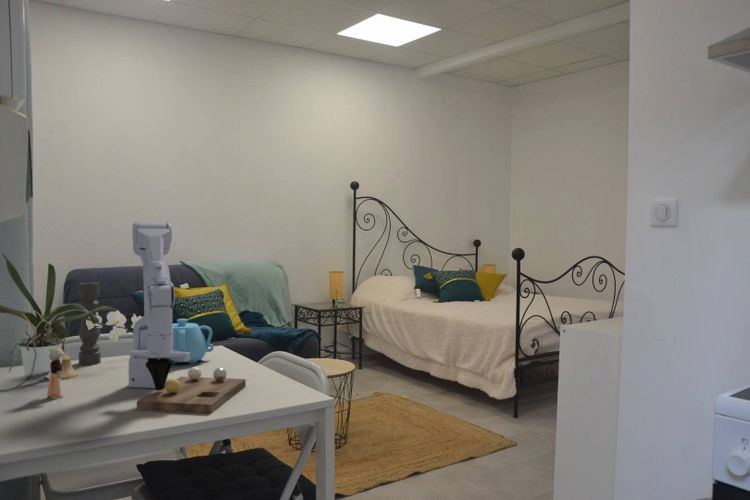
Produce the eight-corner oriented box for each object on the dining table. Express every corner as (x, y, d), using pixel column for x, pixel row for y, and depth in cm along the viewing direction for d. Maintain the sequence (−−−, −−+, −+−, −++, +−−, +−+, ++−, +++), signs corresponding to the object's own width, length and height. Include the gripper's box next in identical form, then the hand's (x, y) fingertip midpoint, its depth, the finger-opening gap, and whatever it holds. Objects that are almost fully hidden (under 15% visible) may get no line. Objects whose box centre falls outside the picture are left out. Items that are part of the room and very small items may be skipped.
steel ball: (211, 382, 157) (211, 369, 157) (216, 379, 160) (216, 366, 160) (223, 382, 157) (223, 369, 156) (228, 379, 160) (228, 366, 160)
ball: (162, 394, 145) (162, 380, 145) (169, 390, 148) (169, 376, 148) (176, 395, 144) (176, 380, 144) (182, 391, 148) (182, 377, 148)
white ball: (185, 381, 158) (185, 368, 158) (191, 378, 161) (191, 365, 161) (198, 381, 157) (198, 368, 157) (203, 378, 161) (203, 365, 161)
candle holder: (78, 365, 183) (77, 284, 182) (79, 361, 189) (78, 282, 188) (100, 364, 185) (100, 283, 185) (100, 360, 191) (100, 282, 190)
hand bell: (79, 377, 169) (79, 321, 168) (45, 381, 164) (45, 323, 164) (76, 371, 176) (75, 317, 175) (43, 375, 171) (43, 319, 171)
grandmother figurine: (41, 395, 150) (41, 345, 149) (57, 392, 153) (57, 343, 152) (53, 401, 145) (53, 349, 144) (70, 398, 148) (69, 347, 147)
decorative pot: (144, 362, 189) (143, 319, 189) (186, 354, 202) (186, 314, 202) (176, 369, 180) (176, 324, 179) (218, 360, 193) (218, 318, 193)
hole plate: (136, 409, 139) (136, 401, 139) (181, 383, 163) (181, 376, 163) (211, 413, 137) (211, 404, 137) (245, 386, 161) (245, 379, 161)
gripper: (123, 335, 143) (123, 392, 144) (181, 337, 141) (181, 394, 142) (138, 331, 150) (138, 384, 151) (193, 332, 148) (193, 387, 149)
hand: (160, 389), depth 147 cm, fingers closed
